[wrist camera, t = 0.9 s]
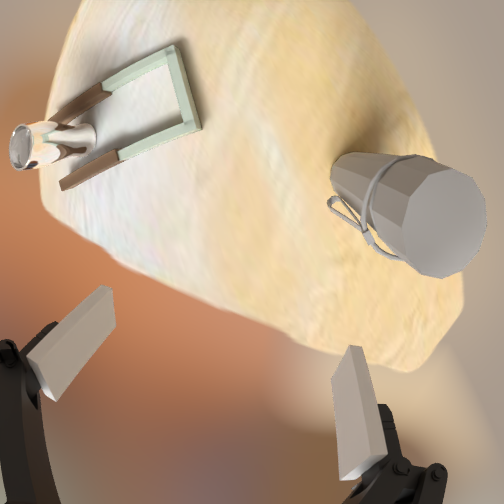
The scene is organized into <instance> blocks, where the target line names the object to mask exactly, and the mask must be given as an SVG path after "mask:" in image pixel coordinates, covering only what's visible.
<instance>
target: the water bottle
mask: <svg viewBox="0 0 504 504" xmlns="http://www.w3.org/2000/svg"><path fill="white" fill-rule="evenodd" d="M330 180H331V183H332V186H333V189H334V191H335V192H336V193H337V194H338V195H339V196H340V197H341V198H342V199H343V200H344V201H345V202H346V203H347V204H348V205H349V206H351V207H352V208H353V209H354V210H355V211H356V212H357V213H358V214H359V215H360V216H361V218H360V221H361V223H360V221H359V220H358V219H357V217H356V216H355V215H354V214H353V212H352V211H351V210H350V208H349V207H348V206H347V205H346V203H345V202H344V201H343V200H342V199H341V198H340V197H339V196H332V197H331V198H330V199H328V200H327V205H328V207H329V209H330V210H331V212H333V213H334V214H336V215H337V216H339V217H340V218H342V219H343V220H345V221H346V222H348V223H349V224H351V225H352V226H354V227H355V228H357V229H358V230H359V231H361V232H362V234H363V236H364V238H365V240H366V242H367V243H368V245H370V244H371V246H372V247H373V248H374V250H375V251H376V252H377V253H379V254H381V255H383V256H385V257H387V258H389V259H391V260H398V261H405V262H406V263H407V264H409V265H410V266H411V267H412V268H414V269H415V270H416V271H417V272H419V273H420V274H421V275H426V276H431V277H435V278H440V279H443V278H445V277H448V276H450V275H453V274H455V273H457V272H460V271H462V270H463V269H464V268H465V267H466V266H467V265H468V263H469V262H470V261H471V260H472V259H473V257H474V256H475V255H476V254H477V253H478V251H479V249H480V246H481V243H482V240H483V237H484V234H485V230H486V227H487V218H486V205H485V198H484V196H483V195H482V193H481V191H480V189H479V188H478V186H477V185H476V183H475V181H474V180H473V178H472V177H470V176H468V175H466V174H464V173H461V172H459V171H457V170H455V169H453V168H450V167H448V166H445V165H442V164H440V163H437V162H436V161H434V160H433V159H432V158H428V157H425V156H420V155H416V154H414V155H406V156H398V155H388V154H377V153H364V152H351V153H348V154H344V155H341V156H340V157H339V159H338V160H337V161H336V162H335V163H334V164H333V166H332V171H331V176H330ZM336 201H340V202H341V203H342V204H343V205H344V206H345V207H346V209H347V210H348V211H349V212H350V214H351V215H352V216H353V217H354V219H355V220H356V221H357V222H358V224H359V225H358V224H357V223H355V222H354V221H352V220H351V219H349V218H348V217H346V216H345V215H343V214H341V213H340V212H338V211H337V210H335V209H334V208H332V207H331V205H332V204H333V203H335V202H336ZM366 222H367V223H368V224H369V225H370V226H371V227H372V228H373V229H374V230H375V231H376V232H377V234H378V236H379V238H380V239H381V240H382V241H383V242H384V243H385V244H386V245H387V246H388V247H389V248H390V249H391V250H392V252H393V253H394V254H396V255H397V256H396V255H392V254H389V253H387V252H385V251H384V250H382V249H381V248H379V246H378V245H377V244H376V243H375V240H374V238H373V236H372V234H371V233H370V231H369V229H368V228H367V223H366Z"/></svg>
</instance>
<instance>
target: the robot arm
mask: <svg viewBox="0 0 504 504" xmlns="http://www.w3.org/2000/svg"><path fill="white" fill-rule="evenodd" d="M115 327H116V321H115V313H114V303H113V293H112V288H110V287H107V286H104V285H100V286H99V287H98V288H97V289H96V290H95V291H94V292H92V293H91V294H90V295H89V296H88V297H87V298H86V299H85V300H83V301H82V302H81V303H80V304H79V305H78V306H77V307H76V308H75V309H74V310H73V311H71V312H70V313H69V314H68V315H67V316H66V317H65V318H64V319H63V320H62V321H61V322H60V323H58V322H56V321H55V322H52V323H51V324H48V325H47V326H46V327H44V328H43V329H42V330H41V332H39V333H38V334H37V335H36V337H34V338H33V339H32V340H31V341H30V342H29V343H28V344H27V345H26V346H25V347H24V348H23V349H22V350H21V351H20V352H19V351H18V349H17V347H16V344H15V343H14V341H12V340H9V339H5V340H1V341H0V463H1V470H2V476H3V482H4V487H5V492H6V496H7V502H6V503H5V504H61V502H60V499H59V496H58V493H57V489H56V486H55V482H54V479H53V475H52V471H51V466H50V462H49V457H48V452H47V448H46V442H45V436H44V429H43V421H42V413H41V402H40V394H39V390H40V389H41V388H42V389H43V391H44V393H45V395H46V396H48V397H50V398H51V399H53V400H54V401H57V400H58V399H59V397H60V396H61V395H62V394H63V392H64V391H65V390H66V388H67V387H68V386H69V384H70V383H71V382H72V380H73V379H74V378H75V376H76V375H77V374H78V373H79V371H80V370H81V369H82V367H83V366H84V365H85V364H86V362H87V361H88V360H89V359H90V357H91V356H92V355H93V354H94V352H95V351H96V350H97V349H98V347H99V346H100V345H101V344H102V342H103V341H104V340H105V339H106V338H107V336H108V335H109V334H110V333H111V332H112V330H113V329H114V328H115ZM331 383H332V392H333V401H334V411H335V421H336V432H337V445H338V459H339V478H340V480H355V479H357V478H358V477H359V476H362V481H361V482H360V483H358V484H357V485H355V486H354V487H353V488H352V489H354V490H353V491H352V493H351V494H350V495H349V496H348V498H346V500H345V501H344V502H343V503H342V504H442V502H443V498H444V493H445V488H446V483H447V477H448V473H447V470H446V468H445V467H444V466H443V465H441V464H439V463H434V464H432V465H430V466H429V467H428V468H424V467H418V466H413V465H411V463H410V461H409V460H408V459H407V458H405V457H403V456H402V453H401V449H400V444H399V440H398V435H397V431H396V430H395V428H396V427H395V424H394V419H393V415H392V412H391V411H390V409H389V408H388V406H387V405H386V404H377V401H376V397H375V393H374V389H373V385H372V381H371V377H370V374H369V370H368V366H367V363H366V359H365V356H364V352H363V349H362V347H360V346H353V345H349V346H348V348H347V350H346V352H345V354H344V356H343V358H342V360H341V362H340V364H339V366H338V367H337V369H336V371H335V373H334V375H333V376H332V378H331Z"/></svg>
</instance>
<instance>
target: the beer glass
mask: <svg viewBox="0 0 504 504" xmlns="http://www.w3.org/2000/svg"><path fill="white" fill-rule="evenodd" d="M95 143H96V133H95V130H94V128H93V127H92V126H91V125H90V124H87V123H83V124H79V125H75V126H70V125H66V124H62V123H58V122H52V121H37V122H30V123H25V124H20V125H18V126H17V127H16V128H15V130H14V131H13V133H12V136H11V139H10V144H9V157H10V162H11V164H12V166H13V168H14V169H15V170H17V171H22V170H29V169H36V168H41V167H45V166H49V165H51V164H54V163H56V162H59V161H61V160H63V159H65V158H68V157H86V156H88V155H89V154H90V153H91V152H92V151H93V149H94V147H95Z"/></svg>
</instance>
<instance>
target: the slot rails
mask: <svg viewBox="0 0 504 504" xmlns="http://www.w3.org/2000/svg"><path fill="white" fill-rule="evenodd" d="M110 95H112V92H109V91H104V90H103V89H102V83H100V82H99V83H98V84H96V85H95V86H93V87H92V88H90V89H89V90H87V91H86V92H84V93H83V94H81V95H80V96H79V97H77V98H76V99H74V100H73V101H72V102H70V103H69V104H68V105H66V106H65V107H64V108H63V109H61V110H60V111H59V112H57V113H56V114H55V115H54V116H53V117H51V118H50V119H49V120H48V121H52V122H58V123H62V124H66V125H67V124H68V123H69V122H71V121H72V120H73V119H75V118H76V117H78V116H79V115H81V114H82V113H84V112H85V111H87V110H88V109H90V108H91V107H93V106H94V105H96V104H97V103H99V102H101V101H102V100H104V99H105V98H107V97H109V96H110ZM121 149H124V148H119V149H113V150H111V151H109V152H108V153H106V154H104V155H102V156H100V157H98V158H96V159H95V160H93V161H91V162H89V163H88V164H86V165H84V166H82V167H81V168H79V169H77V170H76V171H74V172H72V173H71V174H69V175H68V176H66V177H64V178H63V179H61V180H60V181H59V183H60V187H61V191H65V190H68V189H71V188H74V187H75V186H77V185H79V184H81V183H82V182H84V181H86V180H88V179H90V178H92V177H94V176H96V175H97V174H99V173H101V172H103V171H105V170H107V169H109V168H111V167H113V166H115V165H117V164H120V163H122V162H124V161H126V160H121V161H120V160H119V157H118V153H117V151H119V150H121Z"/></svg>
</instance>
